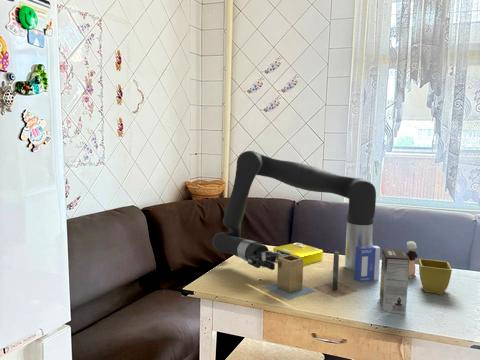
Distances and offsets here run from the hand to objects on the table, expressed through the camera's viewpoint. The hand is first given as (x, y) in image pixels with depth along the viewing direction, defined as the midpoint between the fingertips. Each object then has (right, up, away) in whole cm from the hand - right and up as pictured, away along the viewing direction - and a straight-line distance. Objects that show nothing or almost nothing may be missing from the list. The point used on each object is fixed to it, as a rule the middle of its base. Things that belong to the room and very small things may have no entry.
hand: (284, 264), depth 133 cm
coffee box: (+30, -10, -13) cm, 34 cm away
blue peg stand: (+2, -8, -1) cm, 8 cm away
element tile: (+9, -5, +32) cm, 34 cm away
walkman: (+29, -7, +9) cm, 31 cm away
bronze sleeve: (+2, -7, -1) cm, 8 cm away
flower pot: (+48, -9, 0) cm, 48 cm away
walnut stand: (+16, -8, -1) cm, 18 cm away
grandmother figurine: (+45, -7, +13) cm, 48 cm away
